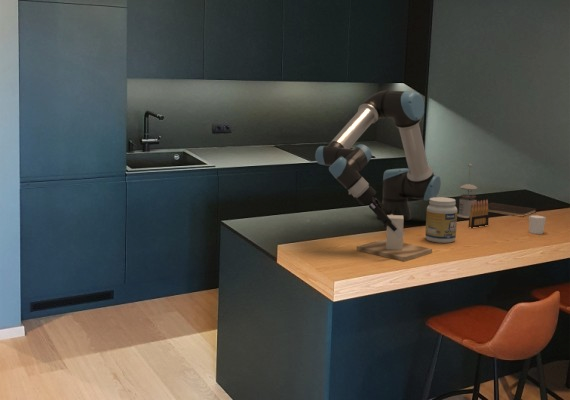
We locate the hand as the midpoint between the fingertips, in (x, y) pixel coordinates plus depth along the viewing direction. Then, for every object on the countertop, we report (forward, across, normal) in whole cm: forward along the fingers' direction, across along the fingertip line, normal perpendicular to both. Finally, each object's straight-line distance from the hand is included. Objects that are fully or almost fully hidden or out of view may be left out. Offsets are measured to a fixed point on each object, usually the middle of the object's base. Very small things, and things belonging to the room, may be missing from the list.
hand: (401, 232), depth 270 cm
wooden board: (+4, 0, -7) cm, 8 cm away
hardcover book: (+44, -88, +32) cm, 104 cm away
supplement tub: (+17, -22, +6) cm, 29 cm away
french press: (+29, -74, +18) cm, 82 cm away
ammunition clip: (+31, -50, +20) cm, 62 cm away
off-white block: (+3, 0, -6) cm, 7 cm away
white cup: (+47, -43, +36) cm, 73 cm away
